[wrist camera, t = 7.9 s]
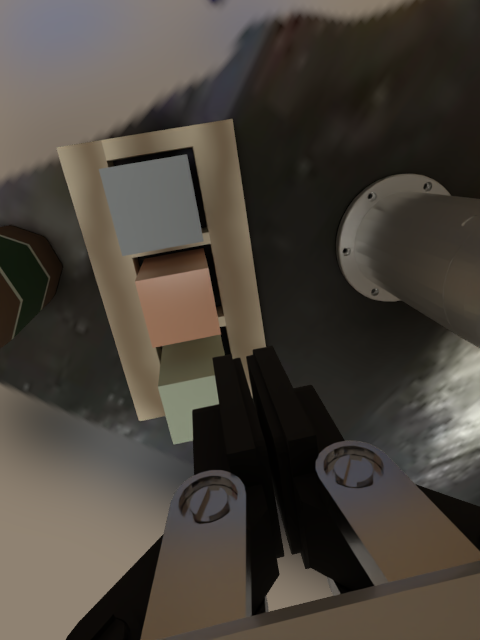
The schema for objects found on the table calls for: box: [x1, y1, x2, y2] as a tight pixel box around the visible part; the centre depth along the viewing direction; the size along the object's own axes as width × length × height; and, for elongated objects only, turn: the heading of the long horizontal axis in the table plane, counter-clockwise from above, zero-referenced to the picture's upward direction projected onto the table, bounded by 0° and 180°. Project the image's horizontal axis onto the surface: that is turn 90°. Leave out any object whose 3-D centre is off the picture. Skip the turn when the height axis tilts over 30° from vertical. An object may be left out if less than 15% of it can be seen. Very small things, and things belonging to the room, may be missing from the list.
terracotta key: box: [135, 248, 221, 348], centre depth 35 cm, size 6×6×8 cm
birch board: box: [56, 119, 266, 421], centre depth 38 cm, size 14×26×3 cm, turn 9°
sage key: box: [158, 335, 225, 444], centre depth 36 cm, size 6×6×8 cm
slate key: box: [99, 154, 203, 256], centre depth 30 cm, size 6×6×8 cm
